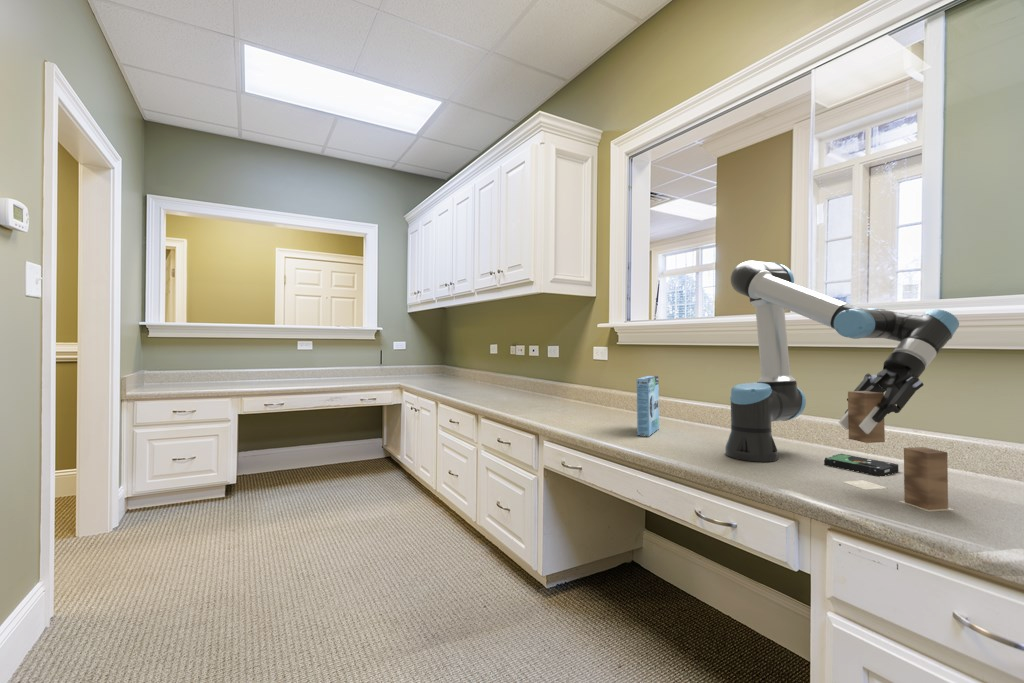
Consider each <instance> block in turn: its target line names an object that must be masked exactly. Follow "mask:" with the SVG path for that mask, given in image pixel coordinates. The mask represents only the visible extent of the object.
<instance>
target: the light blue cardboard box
mask: <svg viewBox="0 0 1024 683" xmlns="http://www.w3.org/2000/svg"><path fill="white" fill-rule="evenodd" d="M659 392H660V390H659V376H658V375H646V376H641V377H639V378H636V416H637V417H636V419H637V420H636V423H637V424H636V425H637V428H636V429H637V432H636V433H637V434H636V435H645V436H649V437H651V436H652V435H653V434H655V433H656V432H657V431H658V430H657V429H659V430H660V398H659V397H660V396H659ZM656 430H657V431H656ZM655 431H656V432H655ZM654 432H655V433H654ZM652 433H653V434H652ZM651 434H652V435H651ZM650 435H651V436H650Z"/></svg>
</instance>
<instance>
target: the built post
mask: <svg viewBox="0 0 1024 683" xmlns="http://www.w3.org/2000/svg"><path fill="white" fill-rule="evenodd" d="M948 462H949V461H948V452H947V451H944V450H938V449H933V448H928V447H925V446H916V447H903V481H904V482H903V490H904V491H903V494H904V496H903V497H904V498H903V501H904V502H906V503H909V504H912V505H915V506H918V507H921V508H924V509H927V510H935V509H948V508H949V488H948V487H949V484H948V482H949V481H948V480H949V478H948V477H949V476H948V474H949V473H948V471H949V470H948V464H949V463H948Z"/></svg>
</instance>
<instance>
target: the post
mask: <svg viewBox="0 0 1024 683" xmlns="http://www.w3.org/2000/svg"><path fill="white" fill-rule="evenodd" d="M884 394H885V392H884V393H879V392H869V391H854V390H852V391H847V398H848V401H847V409H848V425H849V429H848V440H852V441H856V442H860V443H866V444H873V443H875V444H876V443H885V440H886V438H885V431H886V430H885V417H884V418H883V419H882V421H881V422H879V423H877V424H876V426H875V427H874V428H873V429H872V431H871V432H870V433H869V434H866V433H865V432H864V431H863V430H862V429H861V428H860V427H859V425H860V424H861V423H862V421H863V420H864V419H865V418H866V417H867V415H868V414H869V413H870V412H871V410H872V409H873V408H874V407H875V406H876V407H878V408H880V407H879V406H878V404H879V403H881V401H882V399H883V397H884ZM877 403H878V404H877Z"/></svg>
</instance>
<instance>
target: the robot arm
mask: <svg viewBox="0 0 1024 683" xmlns="http://www.w3.org/2000/svg"><path fill="white" fill-rule="evenodd" d="M729 280H730V284H731V287H732V288H733V290H734V291H735V292H736V293H738V294H740V295H742V296H746V297H748V298H749V304H750V305H752V306H753V307H754V308H755V317H756V329H757V340H758V351H759V362H760V374H761V376H760V377H759V379H757V381H756V382H746V383H745V382H743V383H739V384H736V385H734V386H733V387H732V388H731V390H730V398H729V401H730V432H729V433H730V434H729V436H728V439H727V442H726V445H725V447H724V448H725V455H726V456H728V457H730V458H733V459H737V460H741V461H749V462H756V463H757V462H758V463H759V462H763V463H764V462H765V463H766V462H768V463H769V462H774V461H775V462H776V461H777V460H779V450H778V449H777V445H776V442H775V439H774V438H773V433H772V423H773V422H785V421H786V422H787V421H789V420H793V419H796V418H798V417H799V416H800V415H802V414H803V413H804V411H805V408H806V405H807V401H806V396H805V394H804V392H803V391H802V390H801V389H800V388H799V387H798V382H797V379H795V378H794V377H793V376H792V374H791V368H790V358H789V357H790V356H789V345H788V335H787V334H788V333H787V324H786V313H785V312H786V311H785V309H786V310H788V311H790V312H792V313H796V314H798V315H801V316H802V317H804V318H808V319H809V320H812V321H815V322H817V323H819V324H822V325H824V326H826V327H829V328H831V329H833V330H835V332H837V333H838V335H840V336H841V337H845V338H849V339H854V340H856V339H858V340H859V339H885V340H889V341H890V340H892V341H894V342H895V341H896V342H900V343H899V344H898V345H897V346H896V347H895V348H894V350H893V351H892V353H891V354H889V356H888V357H887V358H886V359H885V360H884V362H883V366H882V367H883V368H882V369H881V370H880V371H879V372H878V373H877V374H872V375H871V373H865V374H864V377H863V380H861V382H860V383H859V384H858V385H857V386H856V388H855V389H854V390H853V391H869V392H879V393H884V397H883V399H882V401H881V403H879V404H878V403H877V404H878V406H879V407H880V408H878V407H876V406H875V407H874V408H873V409H872V410H871V412H870V413H869V414H868V415H867V417H866V418H865V419H864V420H863V421H862V423H861V424H860V425H859V427H860V428H861V429H862V430H863V431H864V432H865V433H866V434H869V433H870V432H871V431H872V429H873V428H874V427H875V426H876V424H877V423H879V422H881V421H882V419H883V418H884V419H885V417H886V416H887V415H890V414H891V413H895V414H898V413H900V412H901V411H902V410H903V408H904V407H905V405H907V403H908V402H909V401H910V399H911V398H913V396H914V395H915V393H916V392H917V391H918V390H920V389H921V388H922V387H923V386H924V383H923V381H921V379H920V376H921V375H922V374H923V372H924V371H925V370H926V369H927V367H929V365H930V364H931V362H932V361H933V360H934V359H935V358H936V356H937V355H938V354H939V353H940V351H941V350H942V349H943V348H944V347H945V346H946V344H947V343H948V342H949V341H950V340H952V337H953V336H954V335H955V332H956V331H957V330H958V328H959V327H960V322H959V319H958V318H957V317H956V316H955V315H954V314H953V313H951V312H949V311H946V310H944V309H937V308H935V309H930V310H927V311H925V312H924V313H923V314H922V315H917V314H908V313H902V312H898V311H891V310H888V309H887V310H886V309H883V308H873V307H868V308H866V309H865V308H862V307H859V306H856V305H853V304H851V303H848V302H845V301H843V300H840V299H837V298H835V297H834V298H833V297H831V296H828V295H826V294H823V293H821V292H817V291H815V290H812V289H809V288H806V287H804V286H801V285H797V284H795V278H794V274H793V272H792V271H791V269H790V268H789V267H788V266H785V265H784V264H781V263H777V262H767V261H759V260H758V261H757V260H747V261H744V262H741V263H738V265H737V266H735V267H734V269H733V270H732V272H731V274H730V279H729ZM846 401H847V402H848V397H847V398H846ZM838 424H840V426H842V428H844V430H846V431H849V425H848V408H847V409H846V411H845V412H844V414H843V415H842V417H841V418H840V420H838Z"/></svg>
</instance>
